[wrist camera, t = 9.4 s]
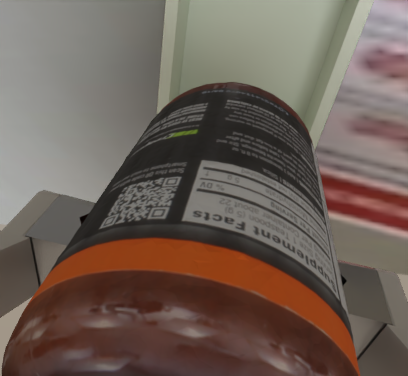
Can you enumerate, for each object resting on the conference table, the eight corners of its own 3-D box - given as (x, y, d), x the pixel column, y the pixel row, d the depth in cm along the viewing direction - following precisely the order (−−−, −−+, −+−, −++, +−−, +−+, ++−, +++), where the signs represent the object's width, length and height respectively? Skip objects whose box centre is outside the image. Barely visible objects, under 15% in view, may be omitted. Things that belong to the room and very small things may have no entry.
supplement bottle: (232, 244, 15) (161, 712, 6) (119, 155, 13) (-218, 612, 4) (354, 161, 12) (602, 880, 3) (226, 32, 10) (-175, 744, 1)
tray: (368, -34, 23) (385, -29, 19) (307, 131, 30) (311, 157, 26) (188, -69, 23) (171, -70, 20) (170, 100, 31) (156, 123, 27)
